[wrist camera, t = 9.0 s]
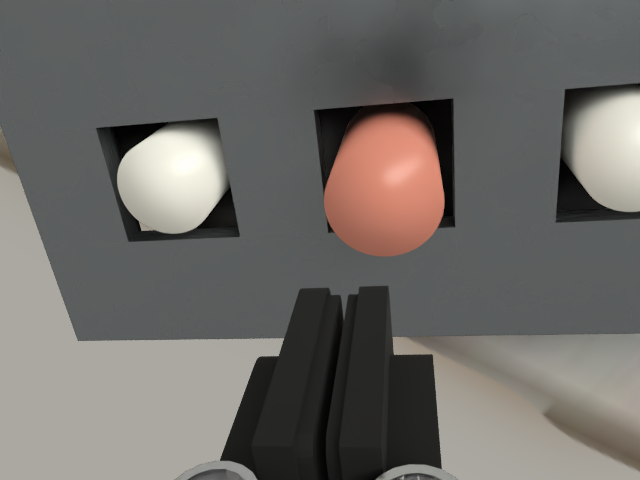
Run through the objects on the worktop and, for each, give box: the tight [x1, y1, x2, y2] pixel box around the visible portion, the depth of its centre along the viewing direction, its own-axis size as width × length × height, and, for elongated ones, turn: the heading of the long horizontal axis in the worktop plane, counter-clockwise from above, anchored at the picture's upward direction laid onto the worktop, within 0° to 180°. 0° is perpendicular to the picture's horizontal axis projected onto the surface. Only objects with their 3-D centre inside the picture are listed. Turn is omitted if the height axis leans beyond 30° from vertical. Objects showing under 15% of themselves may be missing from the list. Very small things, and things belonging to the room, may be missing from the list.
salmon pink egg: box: [324, 102, 445, 257], centre depth 20 cm, size 4×4×6 cm
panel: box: [0, 0, 640, 341], centre depth 22 cm, size 28×14×6 cm, turn 97°
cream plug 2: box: [560, 83, 640, 212], centre depth 21 cm, size 4×4×6 cm
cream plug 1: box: [117, 118, 230, 234], centre depth 23 cm, size 4×4×6 cm
